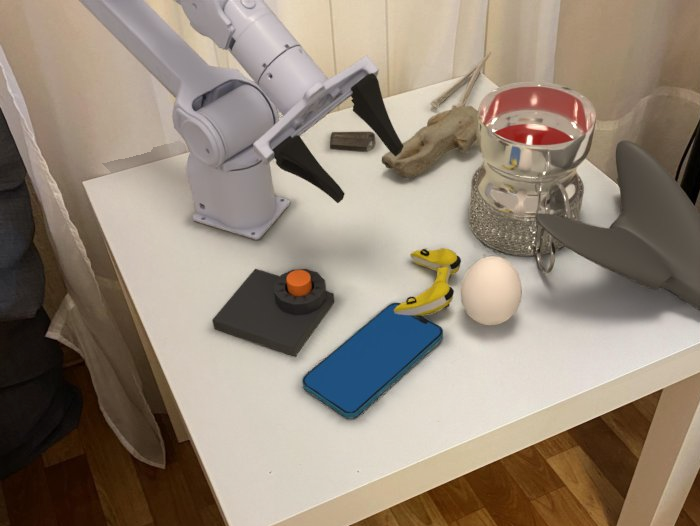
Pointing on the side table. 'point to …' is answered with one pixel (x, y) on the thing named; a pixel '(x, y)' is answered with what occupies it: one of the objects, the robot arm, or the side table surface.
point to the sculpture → (435, 141)
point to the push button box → (274, 311)
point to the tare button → (299, 283)
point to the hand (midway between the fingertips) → (370, 174)
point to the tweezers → (469, 87)
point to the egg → (491, 291)
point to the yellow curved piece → (440, 290)
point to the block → (352, 141)
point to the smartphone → (371, 360)
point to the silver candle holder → (529, 165)
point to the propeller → (642, 229)
